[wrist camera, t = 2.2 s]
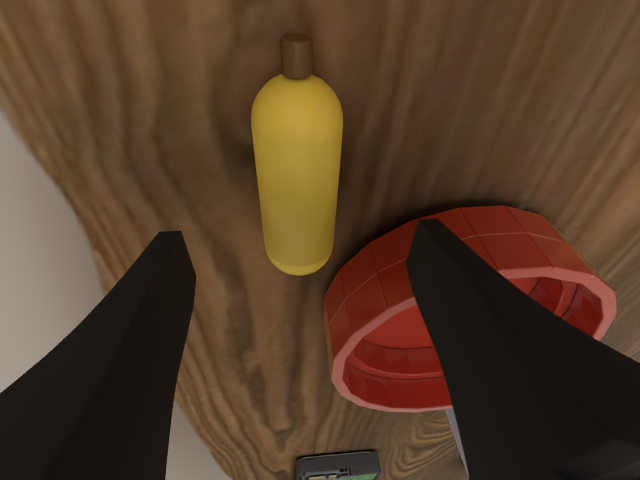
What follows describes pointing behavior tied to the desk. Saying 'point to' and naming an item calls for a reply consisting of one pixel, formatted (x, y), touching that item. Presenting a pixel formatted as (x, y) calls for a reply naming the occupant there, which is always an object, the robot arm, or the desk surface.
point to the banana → (297, 160)
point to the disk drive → (339, 467)
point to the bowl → (406, 320)
